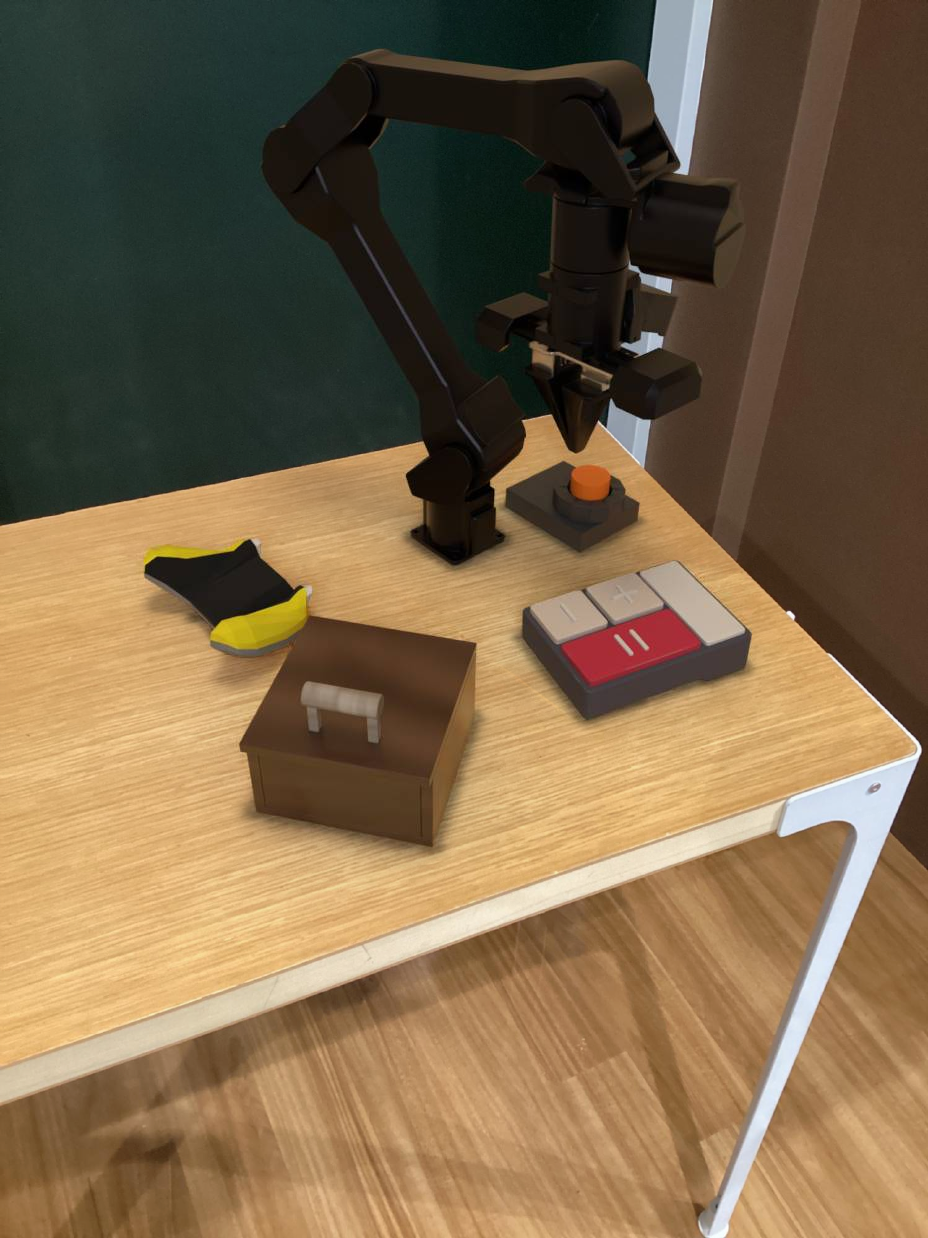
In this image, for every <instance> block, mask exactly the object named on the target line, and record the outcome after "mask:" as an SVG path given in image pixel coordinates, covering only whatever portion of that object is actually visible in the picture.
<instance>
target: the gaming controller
mask: <svg viewBox="0 0 928 1238" xmlns="http://www.w3.org/2000/svg"><path fill="white" fill-rule="evenodd" d="M261 550H262V542H261V541H260V540H259V538H257V537H256V538H243V539H240V540H238V541H236V542H234V543H233V544H232V545H230V546H227V547H226V548H224V549H208V548H207V549H206V548H198V547H191V546H182V545H181V546H180V545H172V544H163V545H158V546H155V547H150V548H148V550H147V552H146V553H145V554H144V556H143V558H142V559H143V560H142V561H143V568H142V571H143V576H144V579H146V580H147V581H149V582H151V583H152V584H154V585H156V587H159V588H161V589H162V590H164V591H165V592H168V593H169V594H170V595H172V596H174V597H175V598H177V599H179V600H180V601H182V602H183V603H184V604H186V605H188V606H189V607H190V608H191V609H192V610H194V611H195V612H196V614H197V615H199V617H200V618H202V620H204V622H205V623H206V624H208V625H209V627H211V629H212V630H211V632H210V637H209V643H210V647H211V648H212V649H214V650H216V651H218V652H221V653H223V654H226V655H228V656H230V657H237V658H248V659H251V658H257V657H261V656H264V655H266V654H268V653H272V652H275V651H277V650H279V649H281V648H285V647H287V646H289V645H290V644H291V643H293V642H295V641H296V639H297V637H298V635H299V633H300V632H301V630H302V628H303V626H304V624H305V622H306V621H307V619H308V617H309V615H311V610H310V606H309V603H310V601H311V598H312V595H313V585H311V584H304V585H301V584H300V585H297V586H296V587H295V588H293V587H292V585H291V584H290V582H288V581H287V580H286V579H285V578H284V577H283V575H281V574H280V573H279V572H277V570H275V569H274V568H273V567H272V566H271V565H270V564H269V562H267V561H266V560H264V559H263V558H262V557H261V552H262V551H261Z"/></svg>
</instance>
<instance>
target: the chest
mask: <svg viewBox="0 0 928 1238" xmlns="http://www.w3.org/2000/svg"><path fill="white" fill-rule="evenodd" d="M476 672H477V653H476V654H475V657H474V659H473V662H472V665H471V668H470V671H469V674H468V677H467V680H466V683H465V686H464V689H463V692H462V694H461V697H460V700H459V703H458V706H457V709H456V712H455V715H454V718H453V721H452V724H451V727H450V729H449V732H448V735H447V738H446V741H445V744H444V747H443V750H442V753H441V756H440V759H439V762H438V764H437V767H436V770H435V773H434V776H433V779H432V782H431V785H430V787H429V788H427V787H422V786H417V785H412V784H406V783H401V782H396V781H391V780H385V779H380V778H375V777H370V776H364V775H359V774H354V773H349V772H344V771H338V770H333V769H328V768H323V767H317V766H312V765H307V764H302V763H296V762H291V761H286V760H281V759H275V758H270V757H265V756H260V755H254V754H249V753H246V757H247V763H248V770H249V777H250V781H251V788H252V795H253V801H254V807H255V812H256V813H259V814H265V815H269V816H275V817H280V818H285V819H289V820H295V821H300V822H305V823H308V824H309V823H310V824H315V825H319V826H325V827H330V828H334V829H339V830H345V831H350V832H355V833H360V834H363V835H364V834H365V835H368V836H369V835H371V836H375V837H379V838H384V839H389V840H395V841H399V842H405V843H409V844H415V845H419V846H425V847H431V848H433V847H434V844H435V842H436V838H437V835H438V832H439V829H440V826H441V823H442V820H443V817H444V813H445V811H446V808H447V804H448V801H449V798H450V795H451V792H452V790H453V789H452V788H453V786H454V783H455V780H456V777H457V773H458V770H459V767H460V765H461V761H462V758H463V755H464V752H465V749H466V746H467V742H468V739H469V736H470V733H471V731H472V727H473V723H474V720H475V708H476V707H475V703H476V701H475V700H476V679H477V677H476V675H477V673H476Z"/></svg>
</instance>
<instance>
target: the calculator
mask: <svg viewBox="0 0 928 1238" xmlns="http://www.w3.org/2000/svg"><path fill="white" fill-rule="evenodd" d="M521 613H522V615H521V617H522V618H521V621H522V623H521V624H522V625H521V637H522V639H523V640H524V642H525V643H526V644H527V645H528V647H529V648H530V649H531V651H532V652H533V654H534V656H536V657H537V659H538V660H539V661H540V663H541V664H542V665H543V666H544V668H545V669H546V670H547V672H548V673H549V674H550V676H551V677H552V678H553V680H554V681H555V682H556V684H557V685H558V686H559V688H560V689H561V690H562V691H563V693H564V694H565V696H566V697H567V698H568V699H569V701H570V702H571V703H572V705H573V706H574V707H575V709H576V710H577V711H578V713H579V714H580V716H581V717H582V718H584V719H586V720H591V719H594V718H596V717H600V716H603V715H605V714H608V713H610V712H614V711H616V710H619V709H621V708H624V707H627V706H630V705H633V704H635V703H638V702H641V701H643V700H647V699H649V698H652V697H654V696H657V695H660V694H663V693H665V692H668V691H671V690H673V689H676V688H679V687H681V686H685V685H688V684H690V683H693V682H696V681H699V680H703V681H708V682H710V681H713V680H715V679H718V678H720V677H723V676H726V675H729V674H732V673H735V672H736V671H740V670H742V669H744V668H746V666H747V663H748V658H749V653H750V648H751V642H752V636H753V633H752V631H750V629H749V628H748V627H747V626H746V625H744V623H743V622H741V621H740V619H739V618H737V617H736V616H735V615H734V614H733V613H732V612H731V610H730V609H728V608H727V606H725V605H724V603H722V602H721V601H720V600H719V599H718V598H717V597H716V596H715V595H714V594H713V593H712V592H711V591H710V590H709V589H708V588H707V587H706V586H705V585H704V584H703V583H702V582H701V581H700V580H698V578H697V577H696V576H695V575H694V574H693V573H692V572H691V571H689V570H688V568H686V566H685V565H683V563H682V562H680V561H679V560H670V561H667V562H664V563H660V564H658V565H655V566H652V567H649V568H646V569H641V570H639V571H636V572H629V573H625V574H623V575H620V576H616V577H614V578H610V579H607V580H605V581H601V582H598V583H595V584H592V585H589V586H587V587H586V588H583V589H577V590H573V591H570V592H567V593H564V594H561V595H558V596H555V597H552V598H549V599H545V600H542V601H539V602H535V603H533V604H531V605H530V606H527V607H525V608H523V609H522V612H521Z"/></svg>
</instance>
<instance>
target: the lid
mask: <svg viewBox="0 0 928 1238" xmlns="http://www.w3.org/2000/svg"><path fill="white" fill-rule="evenodd" d="M477 646H478V645H477V642H474V641H467V640H461V639H456V638H451V637H450V638H449V637H443V636H438V635H432V634H426V633H420V632H413V631H407V630H401V629H397V628H389V627H384V626H378V625H373V624H366V623H359V622H353V621H347V620H341V619H337V618H331V617H330V618H329V617H323V616H318V615H312V614H310V615H309V617H308V619H307V621H306V622H305V624H304V626H303V628H302V630H301V632H300V633H299V635H298V637H297V639H295V640H294V642H293V644H292V646H291V648H290V649H289V652H288V654H287V655H286V657H285V659H284V661H283V663H282V664H281V666H280V668H279V670H278V672H277V674H276V675H275V678H274V679H273V681H272V682H271V685H270V686H269V688H268V690H267V691H266V694H265V696H264V698H263V699H262V701H261V702H260V705H259V707H258V708H257V710H256V712H255V714H254V716H253V718H252V719H251V721H250V722H249V725H248V726H247V728H246V730H245V732H244V733H243V736H242V737H241V740H240V741H239V743H238V746H239V751H240V752H241V753H245V754H247V753H249V754H254V755H260V756H265V757H270V758H275V759H281V760H286V761H291V762H296V763H302V764H307V765H312V766H317V767H323V768H328V769H333V770H338V771H344V772H349V773H354V774H359V775H364V776H370V777H375V778H380V779H385V780H391V781H396V782H401V783H406V784H412V785H417V786H422V787H427V788H429V787H430V785H431V782H432V779H433V776H434V773H435V770H436V767H437V764H438V762H439V759H440V756H441V753H442V750H443V747H444V744H445V741H446V738H447V735H448V732H449V729H450V727H451V724H452V721H453V718H454V715H455V712H456V709H457V706H458V703H459V700H460V697H461V694H462V692H463V689H464V686H465V683H466V680H467V677H468V674H469V671H470V668H471V665H472V662H473V659H474V657H475V654H476V655H477V651H478V649H477Z"/></svg>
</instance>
